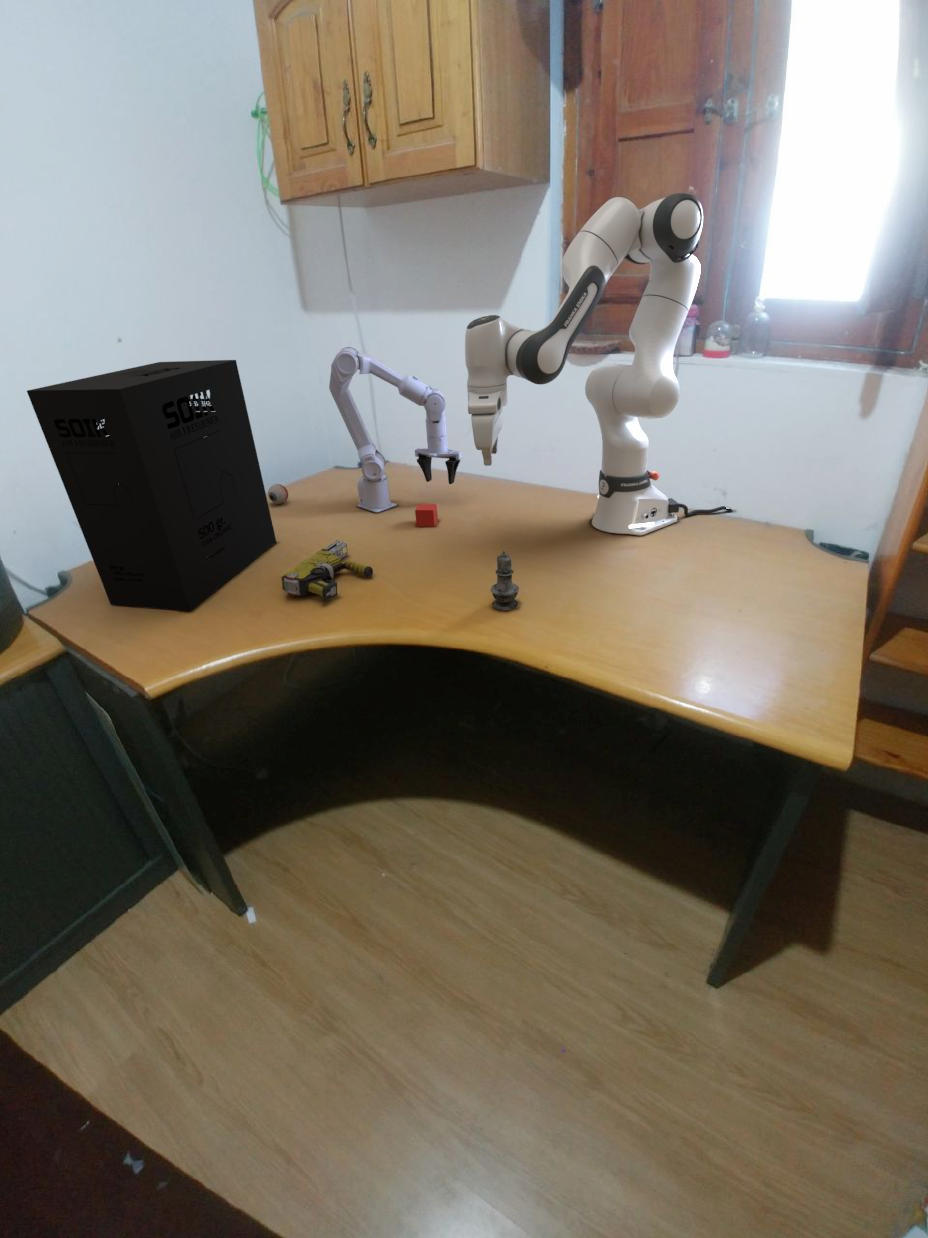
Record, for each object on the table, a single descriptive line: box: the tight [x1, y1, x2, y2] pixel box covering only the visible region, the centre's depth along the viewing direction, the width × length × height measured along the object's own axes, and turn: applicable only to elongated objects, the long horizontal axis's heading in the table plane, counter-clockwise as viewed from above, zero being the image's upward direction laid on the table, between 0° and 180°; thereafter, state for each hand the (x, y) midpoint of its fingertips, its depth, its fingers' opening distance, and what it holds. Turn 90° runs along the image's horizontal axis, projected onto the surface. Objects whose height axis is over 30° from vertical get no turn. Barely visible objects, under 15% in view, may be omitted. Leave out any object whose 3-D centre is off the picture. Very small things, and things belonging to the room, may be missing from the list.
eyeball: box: [267, 483, 289, 505], centre depth 187 cm, size 6×6×6 cm
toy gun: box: [281, 539, 374, 603], centre depth 138 cm, size 5×24×15 cm
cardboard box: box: [26, 359, 277, 612], centre depth 135 cm, size 38×20×45 cm, turn 167°
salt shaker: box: [490, 550, 520, 611], centre depth 121 cm, size 6×6×12 cm
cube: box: [414, 503, 439, 528], centre depth 166 cm, size 5×5×5 cm
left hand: (440, 481), depth 179 cm, fingers open, 7 cm apart
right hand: (490, 458), depth 142 cm, fingers open, 8 cm apart
